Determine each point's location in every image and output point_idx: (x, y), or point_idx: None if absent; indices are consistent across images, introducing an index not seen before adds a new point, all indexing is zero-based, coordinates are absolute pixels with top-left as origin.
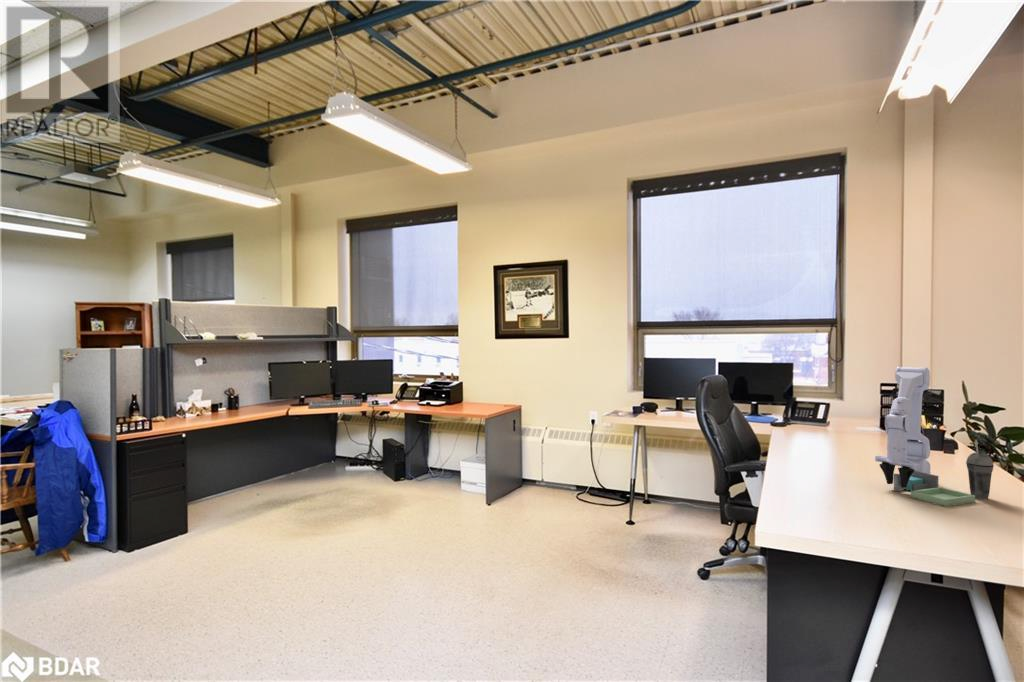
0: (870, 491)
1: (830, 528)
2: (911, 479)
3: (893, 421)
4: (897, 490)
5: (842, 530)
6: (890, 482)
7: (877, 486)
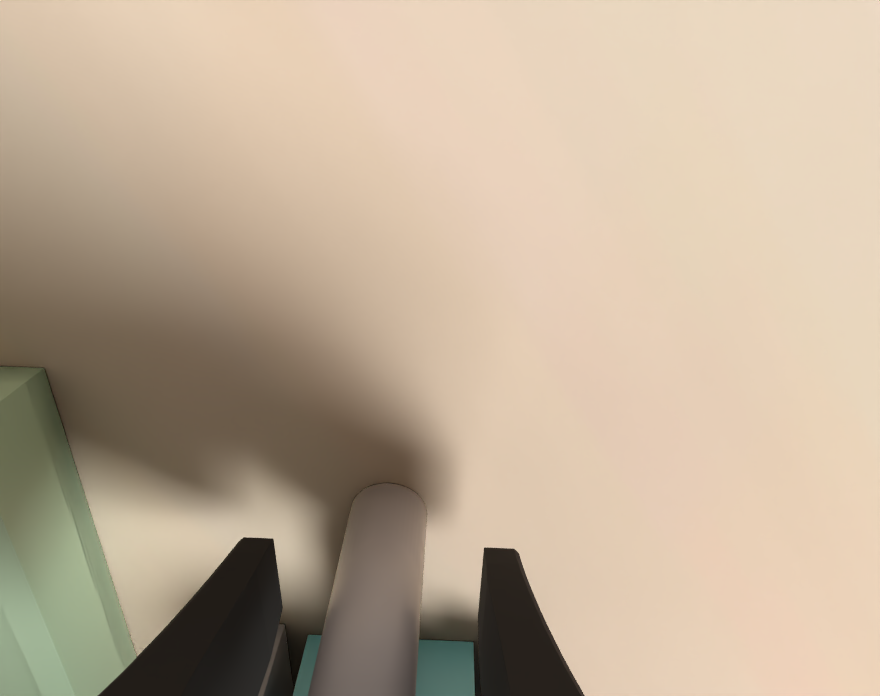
0: (541, 55)
1: None
2: None
3: None
4: (355, 502)
5: None
6: (482, 600)
7: (666, 495)
